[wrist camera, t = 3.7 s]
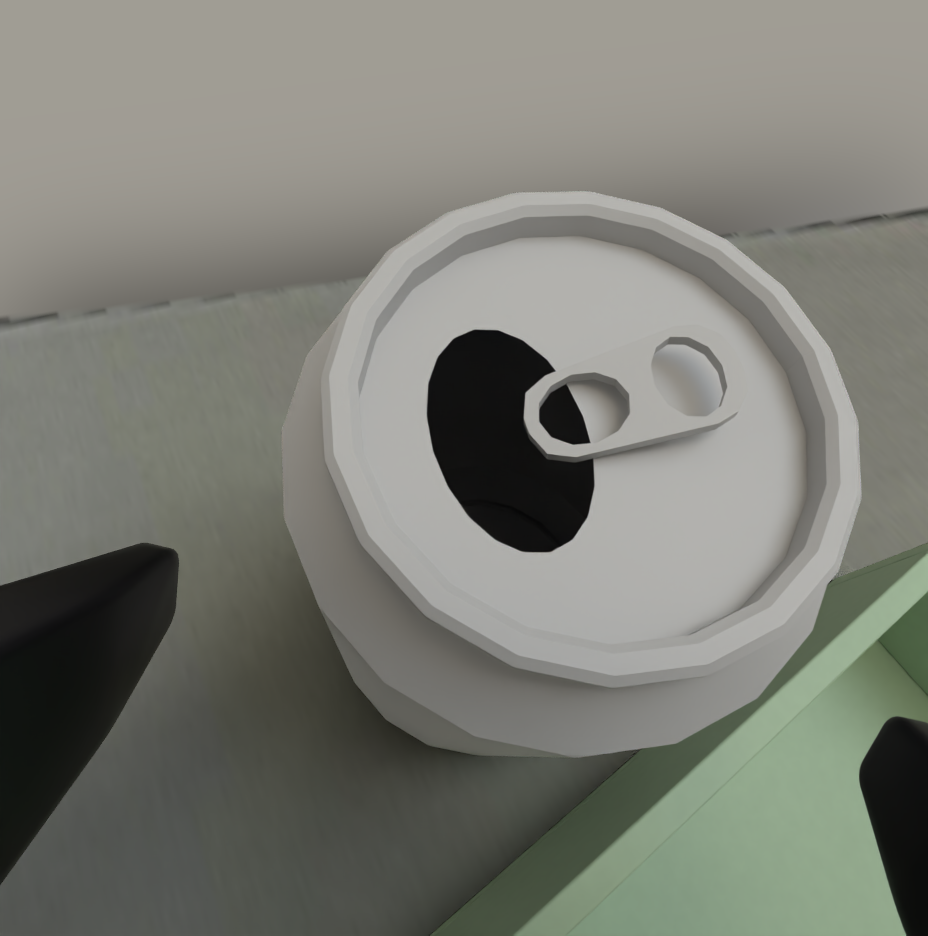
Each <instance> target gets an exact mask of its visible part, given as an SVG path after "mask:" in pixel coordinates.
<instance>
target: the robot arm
mask: <svg viewBox="0 0 928 936" xmlns="http://www.w3.org/2000/svg"><path fill="white" fill-rule="evenodd" d="M178 569H179V558H178V554H177V552H176V551H175V550H174V549H171V548H167V547H162V546H158V545H154V544H150V543H140V544H136V545H133V546H130V547H127V548H123V549H120V550H117V551H113V552H110V553H107V554H104V555H100V556H97V557H94V558H90V559H87V560H84V561H81V562H77V563H74V564H71V565H67V566H64V567H61V568H57V569H54V570H51V571H48V572H44V573H41V574H38V575H34V576H31V577H28V578H25V579H21V580H18V581H15V582H11V583H8V584H5V585H2V586H0V885H1V883H2V882H3V881H4V879H5V878H6V876H7V875H8V874H9V872H10V871H11V869H12V868H13V867H14V865H15V864H16V862H17V861H18V860H19V858H20V857H21V855H22V854H23V853H24V851H25V850H26V848H27V847H28V846H29V844H30V843H31V841H32V840H33V839H34V837H35V836H36V835H37V833H38V832H39V830H40V829H41V828H42V826H43V825H44V823H45V822H46V821H47V819H48V818H49V816H50V815H51V814H52V812H53V811H54V809H55V808H56V807H57V805H58V804H59V802H60V801H61V800H62V798H63V797H64V795H65V794H66V793H67V791H68V790H69V789H70V787H71V786H72V784H73V783H74V782H75V780H76V779H77V777H78V776H79V775H80V773H81V772H82V770H83V769H84V768H85V766H86V765H87V763H88V762H89V761H90V759H91V758H92V756H93V755H94V754H95V752H96V751H97V749H98V748H99V747H100V745H101V744H102V742H103V741H104V739H105V738H106V736H107V735H108V733H109V732H110V730H111V729H112V727H113V725H114V724H115V722H116V720H117V718H118V717H119V715H120V713H121V712H122V710H123V708H124V706H125V705H126V703H127V701H128V699H129V697H130V696H131V694H132V692H133V690H134V689H135V687H136V685H137V683H138V681H139V680H140V678H141V676H142V674H143V673H144V671H145V669H146V667H147V665H148V664H149V662H150V660H151V658H152V657H153V655H154V653H155V651H156V649H157V648H158V646H159V644H160V642H161V641H162V639H163V637H164V635H165V633H166V632H167V630H168V628H169V626H170V624H171V622H172V619H173V616H174V613H175V608H176V597H177V583H178ZM859 783H860V787H861V791H862V794H863V798H864V801H865V805H866V808H867V812H868V815H869V818H870V822H871V825H872V829H873V832H874V836H875V839H876V843H877V846H878V849H879V853H880V856H881V860H882V863H883V867H884V870H885V873H886V877H887V880H888V884H889V887H890V890H891V894H892V897H893V900H894V903H895V906H896V909H897V912H898V915H899V918H900V920H901V923H902V926H903V929H904V931H905V934H906V936H928V723H926V722H923V721H918V720H914V719H910V718H905V717H900V716H896V717H892V718H890V719H888V720H887V721H886V722H885V723H884V725H883V726H882V728H881V730H880V731H879V733H878V735H877V737H876V738H875V740H874V742H873V743H872V745H871V747H870V749H869V750H868V752H867V754H866V755H865V757H864V759H863V761H862V763H861V766H860V769H859Z"/></svg>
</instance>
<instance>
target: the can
mask: <svg viewBox="0 0 928 936" xmlns="http://www.w3.org/2000/svg"><path fill="white" fill-rule="evenodd" d="M281 434H282V469H283V504H284V519H285V522H286V524H287V527H288V530H289V532H290V535H291V537H292V540H293V542H294V545H295V547H296V550H297V553H298V555H299V558H300V560H301V563H302V565H303V568H304V570H305V573H306V576H307V578H308V581H309V583H310V586H311V588H312V591H313V593H314V596H315V599H316V601H317V604H318V606H319V608H320V610H321V612H322V615H323V617H324V619H325V621H326V623H327V625H328V627H329V629H330V632H331V634H332V636H333V638H334V640H335V642H336V644H337V646H338V649H339V651H340V653H341V655H342V657H343V659H344V661H345V663H346V666H347V668H348V670H349V672H350V674H351V676H352V678H353V680H354V683H355V684H356V685H357V686H358V687H359V688H360V690H361V691H362V692H363V693H364V694H365V696H366V697H367V698H368V699H369V700H370V702H371V703H372V704H373V705H374V706H375V707H376V709H377V710H378V711H379V712H380V713H381V715H382V716H383V717H384V718H385V719H386V720H387V721H388V722H390V723H392V724H393V725H395V726H397V727H398V728H400V729H402V730H403V731H405V732H407V733H408V734H410V735H412V736H413V737H415V738H417V739H418V740H420V741H422V742H423V743H425V744H427V745H428V746H433V747H438V748H443V749H447V750H452V751H457V752H462V753H467V754H471V755H476V756H519V757H566V758H579V757H586V756H593V755H600V754H607V753H614V752H621V751H628V750H635V749H642V748H649V747H656V746H663V745H670V744H676V743H678V742H680V741H682V740H684V739H685V738H687V737H689V736H691V735H693V734H694V733H696V732H698V731H700V730H702V729H703V728H705V727H707V726H709V725H710V724H712V723H714V722H716V721H718V720H719V719H721V718H723V717H725V716H727V715H728V714H730V713H732V712H734V711H736V710H737V709H739V708H741V707H743V706H745V705H746V704H748V703H750V702H752V701H754V700H755V699H757V698H758V697H759V696H760V695H761V693H762V692H763V691H764V690H765V688H766V687H767V686H768V685H769V684H770V682H771V681H772V680H773V679H774V677H775V676H776V675H777V674H778V673H779V671H780V670H781V669H782V668H783V666H784V665H785V664H786V663H787V661H788V660H789V659H790V658H791V657H792V655H793V654H794V653H795V652H796V650H797V649H798V648H799V647H800V645H801V644H802V643H803V642H804V641H805V639H806V638H807V637H808V636H809V634H810V633H811V632H812V631H813V628H814V624H815V621H816V618H817V615H818V612H819V609H820V606H821V603H822V600H823V597H824V593H825V590H826V587H827V584H828V583H829V582H830V581H831V579H832V578H833V577H834V576H835V575H836V573H837V572H838V571H839V567H840V564H841V561H842V558H843V555H844V552H845V549H846V545H847V542H848V539H849V536H850V533H851V530H852V526H853V523H854V520H855V517H856V514H857V511H858V508H859V504H860V501H861V498H862V492H861V471H860V451H859V430H858V420H857V417H856V414H855V412H854V409H853V406H852V404H851V401H850V399H849V396H848V393H847V391H846V388H845V385H844V383H843V380H842V377H841V375H840V372H839V369H838V367H837V364H836V362H835V359H834V356H833V354H832V351H831V349H830V348H829V346H828V345H827V344H826V342H825V341H824V340H823V338H822V337H821V336H820V334H819V333H818V332H817V330H816V329H815V327H814V326H813V325H812V323H811V322H810V321H809V319H808V318H807V317H806V315H805V314H804V313H803V311H802V310H801V308H800V307H799V306H798V304H797V303H796V302H795V300H794V299H793V298H792V296H791V295H790V294H789V292H788V291H787V290H786V288H785V287H783V286H782V285H781V284H780V283H779V282H777V281H776V280H775V279H774V278H772V277H771V276H770V275H769V274H768V273H766V272H765V271H764V270H763V269H762V268H760V267H759V266H758V265H757V264H755V263H754V262H753V261H752V260H751V259H749V258H748V257H747V256H746V255H744V254H743V253H742V252H741V251H740V250H738V249H737V248H736V247H735V246H733V245H732V244H731V243H730V242H729V241H727V240H726V239H724V238H722V237H720V236H718V235H715V234H713V233H711V232H709V231H707V230H705V229H703V228H701V227H699V226H697V225H695V224H693V223H690V222H689V221H686V220H684V219H683V218H681V217H679V216H676V215H674V214H672V213H670V212H668V211H666V210H664V209H662V208H659V207H655V206H651V205H646V204H642V203H637V202H633V201H628V200H624V199H619V198H615V197H611V196H606V195H601V194H598V193H593V192H589V191H576V192H525V193H513V194H509V195H506V196H502V197H498V198H495V199H492V200H488V201H485V202H482V203H478V204H474V205H471V206H468V207H464V208H461V209H457V210H454V211H450V212H447V213H445V214H444V215H442V216H441V217H439V218H437V219H436V220H434V221H433V222H432V223H430V224H428V225H427V226H425V227H424V228H422V229H421V230H419V231H418V232H416V233H415V234H413V235H411V236H410V237H408V238H407V239H405V240H404V241H402V242H401V243H399V244H398V245H396V246H395V247H393V248H392V249H390V250H388V251H387V252H386V254H385V255H384V256H383V257H382V259H381V260H380V261H379V262H378V264H377V265H376V266H375V268H374V269H373V270H372V271H371V273H370V274H369V275H368V277H367V278H366V279H365V280H364V282H363V283H362V284H361V285H360V287H359V288H358V289H357V291H356V292H355V293H354V294H353V296H352V297H351V298H350V300H349V301H348V302H347V303H346V305H345V306H344V307H343V310H342V311H341V312H340V313H339V315H338V316H337V317H336V319H335V320H334V321H333V322H332V324H331V325H330V326H329V328H328V329H327V330H326V331H325V333H324V334H323V335H322V337H321V338H320V339H319V340H318V342H317V343H316V344H315V345H314V347H313V348H312V349H311V351H310V352H309V353H308V354H307V356H306V359H305V362H304V365H303V368H302V371H301V374H300V377H299V380H298V383H297V386H296V389H295V392H294V395H293V398H292V401H291V404H290V407H289V410H288V413H287V416H286V419H285V422H284V425H283V428H282V431H281Z"/></svg>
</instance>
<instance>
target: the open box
mask: <svg viewBox="0 0 928 936" xmlns="http://www.w3.org/2000/svg"><path fill="white" fill-rule="evenodd" d="M896 716H900V717H905V718H910V719H914V720H918V721H923V722H926V723H928V543H926V544H923V545H921V546H918V547H916V548H913V549H910V550H908V551H905V552H903V553H900V554H898V555H895V556H893V557H890V558H887V559H885V560H882V561H880V562H877V563H875V564H872V565H870V566H867V567H864V568H862V569H859V570H857V571H854V572H852V573H849V574H846V575H844V576H841V577H838V578H836V579H834V580H833V581H832V582H830V583H829V584H828V585H827V587H826V590H825V593H824V597H823V600H822V603H821V606H820V609H819V612H818V615H817V618H816V621H815V624H814V628H813V631H812V632H811V633H810V634H809V636H808V637H807V638H806V639H805V641H804V642H803V643H802V644H801V645H800V647H799V648H798V649H797V650H796V652H795V653H794V654H793V655H792V657H791V658H790V659H789V660H788V661H787V663H786V664H785V665H784V666H783V668H782V669H781V670H780V671H779V673H778V674H777V675H776V676H775V677H774V679H773V680H772V681H771V682H770V684H769V685H768V686H767V687H766V688H765V690H764V691H763V692H762V693H761V695H760V696H759V697H758V698H757V699H755V700H754V701H752V702H750V703H748V704H746V705H745V706H743V707H741V708H739V709H737V710H736V711H734V712H732V713H730V714H728V715H727V716H725V717H723V718H721V719H719V720H718V721H716V722H714V723H712V724H710V725H709V726H707V727H705V728H703V729H702V730H700V731H698V732H696V733H694V734H693V735H691V736H689V737H687V738H685V739H684V740H682V741H680V742H678V743H676V744H670V745H663V746H656V747H649V748H642V749H641V750H640V751H639V752H638V753H636V754H635V755H634V756H633V757H632V758H631V759H630V760H628V761H627V762H626V763H625V764H624V765H623V766H622V767H621V768H619V769H618V770H617V771H616V772H615V773H614V774H613V775H611V776H610V777H609V778H608V779H607V780H606V781H605V782H604V783H602V784H601V785H600V786H599V787H598V788H597V789H596V790H594V791H593V792H592V793H591V794H590V795H589V796H588V797H587V798H585V799H584V800H583V801H582V802H581V803H580V804H579V805H577V806H576V807H575V808H574V809H573V810H572V811H571V812H569V813H568V814H567V815H566V816H565V817H564V818H563V819H562V820H560V821H559V822H558V823H557V824H556V825H555V826H554V827H552V828H551V829H550V830H549V831H548V832H547V833H546V834H545V835H543V836H542V837H541V838H540V839H539V840H538V841H537V842H535V843H534V844H533V845H532V846H531V847H530V848H529V849H528V850H526V851H525V852H524V853H523V854H522V855H521V856H520V857H518V858H517V859H516V860H515V861H514V862H513V863H512V864H510V865H509V866H508V867H507V868H506V869H505V870H504V871H503V872H501V873H500V874H499V875H498V876H497V877H496V878H495V879H493V880H492V881H491V882H490V883H489V884H488V885H487V886H486V887H484V888H483V889H482V890H481V891H480V892H479V893H478V894H476V895H475V896H474V897H473V898H472V899H471V900H470V901H469V902H467V903H466V904H465V905H464V906H463V907H462V908H461V909H459V910H458V911H457V912H456V913H455V914H454V915H453V916H451V917H450V918H449V919H448V920H447V921H446V922H445V923H444V924H442V925H441V926H440V927H439V928H438V929H437V930H436V931H434V932H433V933H432V934H431V935H430V936H906V934H905V931H904V929H903V926H902V923H901V920H900V918H899V915H898V912H897V909H896V906H895V903H894V900H893V897H892V894H891V890H890V887H889V884H888V880H887V877H886V873H885V870H884V867H883V863H882V860H881V856H880V853H879V849H878V846H877V843H876V839H875V836H874V832H873V829H872V825H871V822H870V818H869V815H868V812H867V808H866V805H865V801H864V798H863V794H862V791H861V787H860V783H859V769H860V766H861V763H862V761H863V759H864V757H865V755H866V754H867V752H868V750H869V749H870V747H871V745H872V743H873V742H874V740H875V738H876V737H877V735H878V733H879V731H880V730H881V728H882V726H883V725H884V723H885V722H886V721H887V720H888V719H890V718H892V717H896Z"/></svg>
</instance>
